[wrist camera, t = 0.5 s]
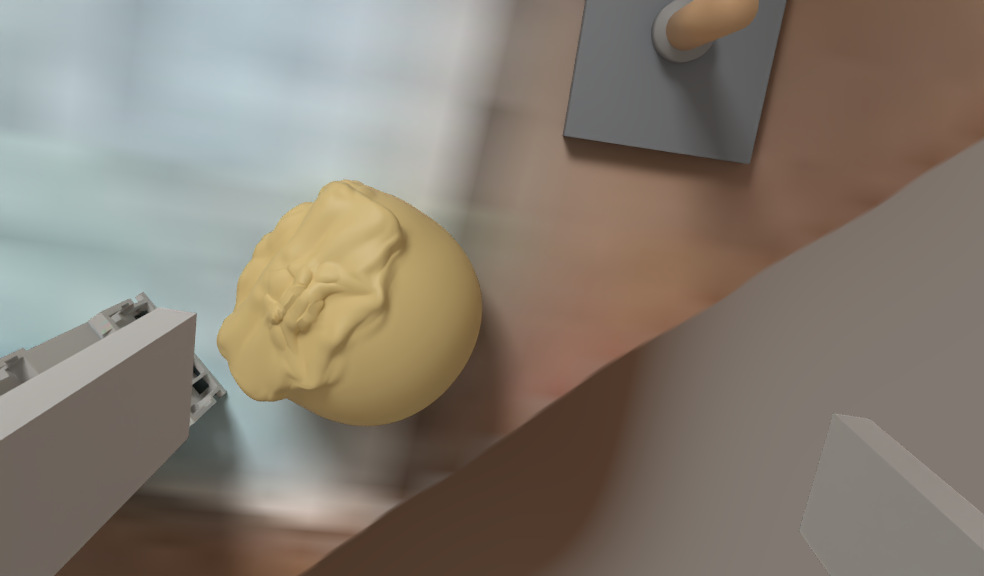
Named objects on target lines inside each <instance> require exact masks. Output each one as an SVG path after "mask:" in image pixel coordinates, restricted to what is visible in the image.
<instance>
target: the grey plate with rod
mask: <svg viewBox="0 0 984 576" xmlns="http://www.w3.org/2000/svg"><path fill="white" fill-rule="evenodd" d="M786 1H787V0H585V6H584V12H583V18H582V24H581V30H580V36H579V41H578V47H577V53H576V59H575V65H574V71H573V77H572V83H571V89H570V95H569V101H568V107H567V113H566V119H565V125H564V131H563V136H569V137H575V138H582V139H588V140H595V141H601V142H608V143H614V144H621V145H627V146H634V147H640V148H647V149H653V150H660V151H666V152H673V153H679V154H686V155H693V156H699V157H706V158H712V159H719V160H725V161H732V162H738V163H745V164H750V160H751V156H752V152H753V147H754V143H755V138H756V134H757V129H758V125H759V121H760V116H761V112H762V107H763V103H764V98H765V94H766V89H767V85H768V81H769V76H770V72H771V67H772V63H773V58H774V54H775V49H776V45H777V41H778V36H779V32H780V27H781V23H782V18H783V14H784V10H785V5H786Z"/></svg>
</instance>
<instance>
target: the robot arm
mask: <svg viewBox="0 0 984 576" xmlns="http://www.w3.org/2000/svg"><path fill="white" fill-rule="evenodd" d="M196 317H197V313H192V312H185V311H179V310H173V309H166V308H160V307H159V308H157V309H155V310H153V311H151V312H150V313H148V314H146V315H144V316H143V317H141V318H139V319H137V320H135V321H134V322H132V323H130V324H128V325H126V326H125V327H123V328H121V329H119V330H117V331H116V332H114V333H112V334H110V335H109V336H107V337H105V338H103V339H101V340H100V341H98V342H96V343H94V344H92V345H91V346H89V347H87V348H85V349H84V350H82V351H80V352H78V353H76V354H75V355H73V356H71V357H69V358H67V359H66V360H64V361H62V362H60V363H59V364H57V365H55V366H53V367H51V368H50V369H48V370H46V371H44V372H42V373H41V374H39V375H37V376H35V377H34V378H32V379H30V380H28V381H26V382H25V383H23V384H21V385H19V386H17V387H16V388H14V389H12V390H10V391H9V392H7V393H5V394H3V395H1V396H0V576H54V575H55V574H56V573H57V572H58V571H59V570H60V569H61V568H62V567H63V566H64V565H65V564H66V563H67V562H68V561H69V560H70V559H71V558H72V557H73V556H74V555H75V554H76V553H77V552H78V551H79V550H80V549H81V548H82V547H83V546H84V545H85V544H86V542H87V541H88V540H89V539H90V538H91V537H92V536H93V535H94V534H95V533H96V532H97V531H98V530H99V529H100V528H101V527H102V526H103V525H104V524H105V523H106V522H107V521H108V520H109V519H110V518H111V517H112V516H113V515H114V514H115V513H116V512H117V511H118V510H119V509H120V508H121V507H122V506H123V505H124V504H125V503H126V501H127V500H128V499H129V498H130V497H131V496H132V495H133V494H134V493H135V492H136V491H137V490H138V489H139V488H140V487H141V486H142V485H143V484H144V483H145V482H146V481H147V480H148V479H149V478H150V477H151V476H152V475H153V474H154V473H155V472H156V471H157V470H158V469H159V468H160V467H161V466H162V465H163V464H164V463H165V462H166V461H167V459H168V458H169V457H170V456H171V455H172V454H173V453H174V452H175V451H176V450H177V449H178V448H179V447H180V446H181V445H182V444H183V443H184V442H185V441H186V440H187V439H188V438H189V425H190V409H191V394H192V378H193V363H194V347H195V332H196ZM799 532H800V533H801V535H802V536H803V538H804V539H805V541H806V542H807V544H808V545H809V546H810V548H811V549H812V551H813V552H814V554H815V555H816V556H817V558H818V559H819V561H820V562H821V563H822V565H823V566H824V568H825V569H826V571H827V572H828V573H829V575H830V576H984V514H983V513H982V512H981V511H979V510H978V509H977V508H976V507H975V506H973V505H972V504H971V503H970V502H969V501H967V500H966V499H965V498H964V497H963V496H962V495H960V494H959V493H958V492H957V491H955V490H954V489H953V488H952V487H951V486H950V485H948V484H947V483H946V482H944V480H942V479H941V478H940V477H939V476H938V475H936V474H935V473H934V472H933V471H931V470H930V469H929V468H928V467H927V466H926V465H924V464H923V463H922V462H921V461H920V460H918V459H917V458H916V457H915V456H914V455H912V454H911V453H910V452H909V451H908V450H907V449H905V448H904V447H903V446H902V445H901V444H899V443H898V442H897V441H896V440H895V439H893V438H892V437H891V436H890V435H889V434H887V433H886V432H885V431H884V430H883V429H881V428H880V427H879V426H878V425H877V424H875V423H874V422H873V421H872V420H871V419H869V418H863V417H856V416H850V415H844V414H837V413H833V415H832V418H831V422H830V425H829V429H828V432H827V436H826V439H825V442H824V446H823V449H822V453H821V457H820V460H819V463H818V467H817V470H816V473H815V477H814V480H813V484H812V487H811V491H810V494H809V498H808V501H807V505H806V508H805V512H804V515H803V518H802V522H801V525H800V529H799Z"/></svg>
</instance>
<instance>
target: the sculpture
mask: <svg viewBox="0 0 984 576" xmlns="http://www.w3.org/2000/svg"><path fill="white" fill-rule="evenodd" d="M481 319H482V296H481V290H480V286H479V282H478V279H477V276H476V273H475V271H474V269H473V266H472V264H471V263H470V261H469V259H468V257H467V256H466V254H465V252H464V251H463V250H462V248H461V247H460V246H459V244H458V243H457V242H456V241H455V239H454V238H453V237H452V236H451V235H450V234H449V233H448V232H447V231H446V230H445V229H444V228H443V227H441V226H440V225H439V224H438V223H436V222H435V221H434V220H432V219H431V218H430V217H428V216H427V215H425V214H424V213H422V212H421V211H419V210H418V209H416V208H415V207H413V206H412V205H410V204H408V203H407V202H405V201H403V200H401V199H399V198H397V197H395V196H392V195H390V194H387V193H384V192H381V191H378V190H376V189H374V188H372V187H369V186H366V185H364V184H363V183H361V182H359V181H350V180H342V181H333V182H330V183H328V184H327V185H325V186H324V187H323V188H322V189H321V190H320V192H319V194H318V198H317V199H316V200H315V202H314V203H312V202H305V203H302V204H300V205H298V206H296V207H295V208H293V209H291V210H290V211H289V212H287V213H286V214H285V215H284V216H283V217H282V218H281V219H280V221H279V222H278V224H277V225H276V227H275V229H274V230H273V232H270V233H268V234H266V235H265V236H264V237H263V238H262V239H261V241H260V242H259V243H258V244H257V246H256V247H255V250H254V253H253V256H252V259H251V261H250V262H249V263H248V264H247V265H246V267H245V268H244V270H243V272H242V274H241V276H240V278H239V280H238V285H237V297H236V305H235V309H234V311H233V313H232V314H230V315H229V316H228V317H227V318H226V319H225V320H224V321H223V324H222V326H221V328H220V330H219V333H218V336H217V346H218V349H219V351H220V353H221V355H222V356H223V357H224V358H225V359H226V360H227V361H228V364H229V369H230V371H231V374H232V376H233V377H234V379H235V381H236V382H237V384H238V385H239V387H240V388H241V389H242V391H243V392H244V393H245V394H246V395H247V396H249V397H250V398H252V399H254V400H256V401H270V402H274V401H278V400H282V399H285V398H287V399H289V400H291V401H293V402H294V403H296V404H298V405H300V406H302V407H304V408H305V409H307V410H309V411H311V412H313V413H315V414H317V415H319V416H321V417H324V418H326V419H329V420H332V421H335V422H339V423H343V424H348V425H355V426H378V425H385V424H389V423H393V422H397V421H400V420H402V419H405V418H407V417H410V416H412V415H414V414H416V413H417V412H419V411H421V410H423V409H424V408H426V407H427V406H429V405H430V404H431V403H433V402H434V401H435V400H436V399H438V398H439V397H440V396H441V395H442V394H443V393H444V392H445V391H446V390H447V389H448V388H449V387H450V386H451V385H452V383H453V382H454V381H455V380H456V378H457V377H458V376H459V374H460V373H461V371H462V370H463V368H464V367H465V365H466V363H467V362H468V360H469V358H470V356H471V354H472V351H473V349H474V347H475V344H476V341H477V338H478V335H479V331H480V326H481Z"/></svg>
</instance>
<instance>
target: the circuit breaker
mask: <svg viewBox="0 0 984 576" xmlns="http://www.w3.org/2000/svg"><path fill="white" fill-rule="evenodd" d="M135 298H136V299H137V301H138V302H137V303H135V304H134V302H133V301H132V300H131V299H127V300H125V301H123V302H121V303H119V304H117V305H115V306H112V307H110V308H108V309H106V310H104V311H102V312H100V313H98V314H97V315H96V316H94V317H93V318H91V319H90V320H89V321H88V322H86V323H84V324H82V325H80V326H78V327H76V328H74V329H71V330H69V331H67V332H65V333H63V334H61V335H59V336H57V337H55V338H52V339H50V340H48V341H46V342H44V343H42V344H40V345H38V346H36V347H33V348H31V349H29V350H27V351H25V349H24V348H22V349H20V350H18V351H15V352H13V353H11V354H9V355H7V356H5V357H2V358H0V396H1V395H3V394H5V393H7V392H9V391H10V390H12V389H14V388H16V387H17V386H19V385H21V384H23V383H25V382H26V381H28V380H30V379H32V378H34V377H35V376H37V375H39V374H41V373H42V372H44V371H46V370H48V369H50V368H51V367H53V366H55V365H57V364H59V363H60V362H62V361H64V360H66V359H67V358H69V357H71V356H73V355H75V354H76V353H78V352H80V351H82V350H84V349H85V348H87V347H89V346H91V345H92V344H94V343H96V342H98V341H100V340H101V339H103V338H105V337H107V336H109V335H110V334H112V333H114V332H116V331H117V330H119V329H121V328H123V327H125V326H126V325H128V324H130V323H132V322H134V321H135V320H136V319H135V317H136V316H138V315H139V314H141V313H142V312H144V311H145V310H146V311H147V312H148V313H150V312H151V311H153V310H155V309H157V308H156V306H155V305H154V304H153V303H152V302H151V301H150V299H149V298H148V297H147V296H146V295H145V293H144V292H143V293H140V294H139V295H138V296H136V297H135ZM193 365H194V366H195V367H196V369H197V370H198V371H199V372H200V373H201V374H200V375H199V376H198V377H197V376H196V374H195V373H194V372H193V378H192V385H193V384H194V383H195V382H197V381H198V380H200V379H202V378H203V379H204V380H205V381H206V382H207V384H208V385H209V387H208V388H206V389H205V390H204V391H203V392H202V393H200V394H199V393H198V392H197V391H196V390H195V388H194V387H193V386H192V394H191V409H190V425H189V427H190V426H191V425H192V424H194V423H195V422H196V421H197V420H198V419H199V418H200V417H201V416H202V415H203V414H204V413H205V412H206V411H208V410H209V409H210V408H211V407H212V406H213V405H214V404H215V403H216V402H217V401H216V400H215V399H214V398H213V395H215V394H216V395H217V396H218V397H219V398H220V397H221V396H223V395H224V394H225V393H226V392H227V391H226V390H225V389H224V388H223V387H222V385H221V384H220V383H219V382H218V381H217V380H216V378H215V377H214V376H213V375H212V374H211V372H210V371H209V370H208V369H207V368H206V366H205V365H204V364H203V363H202V362H201V360H200V359H199V358H198V357H197V356H196V354H195V353H194V363H193Z"/></svg>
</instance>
